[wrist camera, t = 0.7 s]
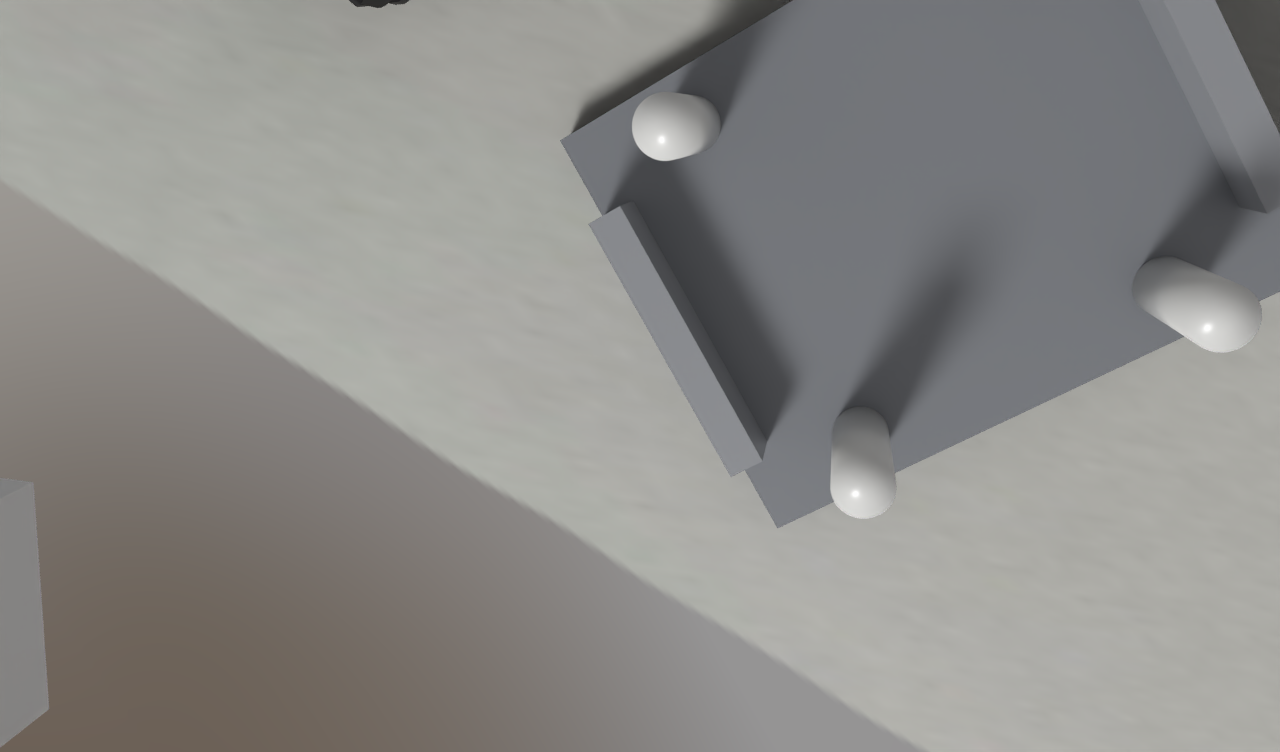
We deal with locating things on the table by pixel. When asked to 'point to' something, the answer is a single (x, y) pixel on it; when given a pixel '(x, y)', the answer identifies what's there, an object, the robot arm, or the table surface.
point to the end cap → (376, 2)
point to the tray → (932, 221)
